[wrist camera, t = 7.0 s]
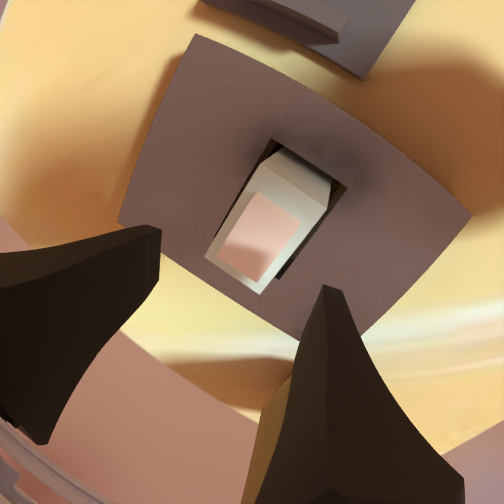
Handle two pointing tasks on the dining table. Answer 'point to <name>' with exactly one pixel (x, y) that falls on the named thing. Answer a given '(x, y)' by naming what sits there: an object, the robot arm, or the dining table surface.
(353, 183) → the port block
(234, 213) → the plug
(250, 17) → the dark grey holder base
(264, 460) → the squeeze bottle
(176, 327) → the dining table surface
